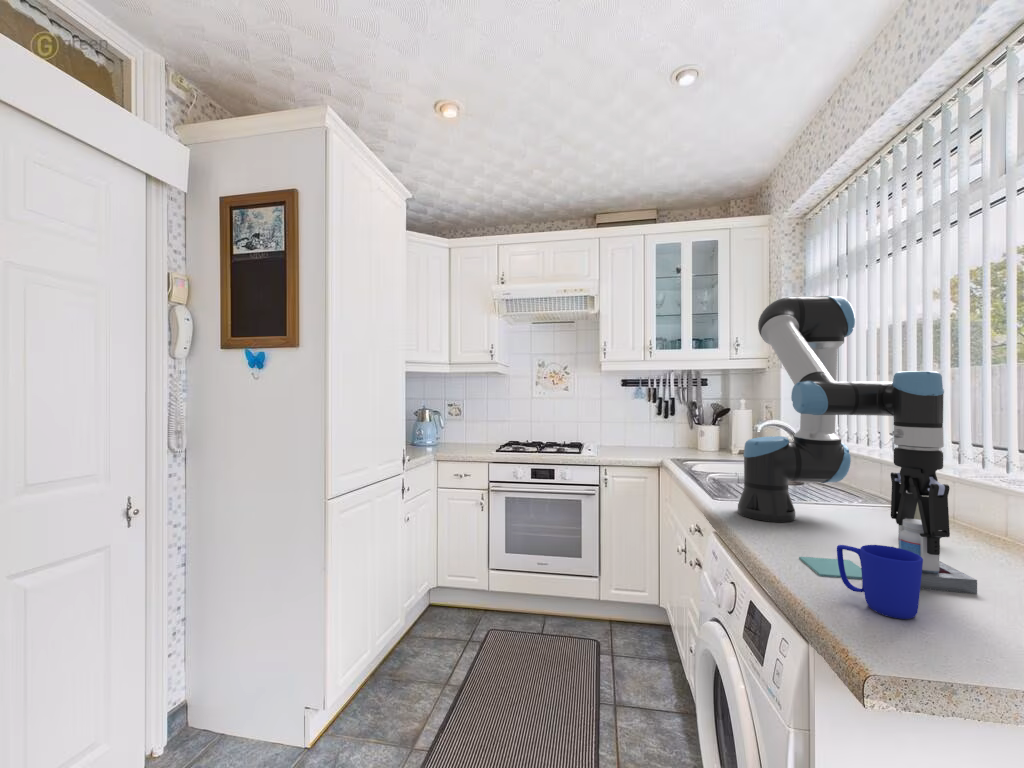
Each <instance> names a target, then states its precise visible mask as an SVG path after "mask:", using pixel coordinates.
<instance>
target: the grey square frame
mask: <svg viewBox="0 0 1024 768" xmlns="http://www.w3.org/2000/svg"><path fill="white" fill-rule="evenodd" d="M920 590H923V591H925V590H926V591H937V592H952V593H953V592H954V593H964V594H966V593H967V594H976V595H977V594H978V579H976V578H974V577H972V576H970V575H969V574H966V573H964V572H962V571H960V570H958V569H956V568H954V567H952V566H950V565H949V564H946V563H944V562H942V561H940V560H939V573H930V572H922V576H921V586H920Z"/></svg>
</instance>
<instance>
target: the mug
mask: <svg viewBox="0 0 1024 768" xmlns="http://www.w3.org/2000/svg"><path fill="white" fill-rule="evenodd" d="M843 550H845V551H849V552H853V553H856V555H858V557H859V561H860V568H861V570H862V579H861V584H862V585H861V588H859V587H856V586H854V585H853V584H852V583H851V582H850V580H849V578H847V576H846V573H845V568H844V561H843V560H844V554H843V553H844V552H843ZM836 555H837V556H836V559H838V566H839V572H840V576H841V578H840V579H841V581H842V583H843V584H844V586H845V587H846V588H847V589H848V590H850V591H853V592H856V593H864V594H863V595H864V599H865V602H866V604H867V606H868V607H869V608H870V609H871V610H873V611H874V612H876V613H878V614H880V615H883V616H886V617H889V618H893V619H897V620H898V619H900V620H910V619H914V618H915V617H916V616H917V615H918V611H919V607H920V606H919V605H920V596H921V595H920V593H921V589H920V586H921V576H922V566H923V558H922V557H921V556H919V555H918V554H915V553H913V552H910V551H907V550H904V549H900V548H898V547H895V546H889V545H882V544H880V545H879V544H865V545H862V546H860V548H859V547H855V546H851V545H847V544H846V545H845V544H838V545H837V546H836Z"/></svg>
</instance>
